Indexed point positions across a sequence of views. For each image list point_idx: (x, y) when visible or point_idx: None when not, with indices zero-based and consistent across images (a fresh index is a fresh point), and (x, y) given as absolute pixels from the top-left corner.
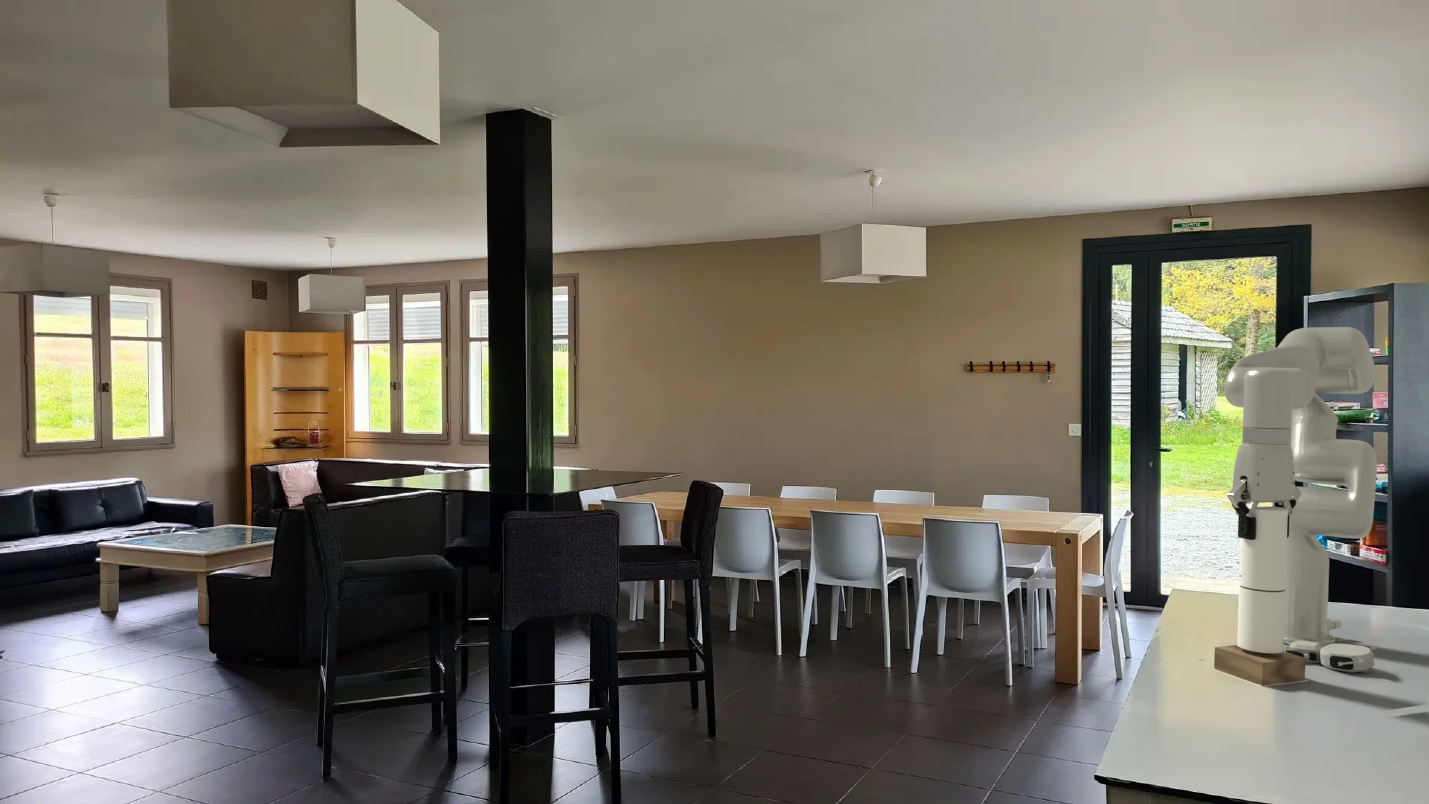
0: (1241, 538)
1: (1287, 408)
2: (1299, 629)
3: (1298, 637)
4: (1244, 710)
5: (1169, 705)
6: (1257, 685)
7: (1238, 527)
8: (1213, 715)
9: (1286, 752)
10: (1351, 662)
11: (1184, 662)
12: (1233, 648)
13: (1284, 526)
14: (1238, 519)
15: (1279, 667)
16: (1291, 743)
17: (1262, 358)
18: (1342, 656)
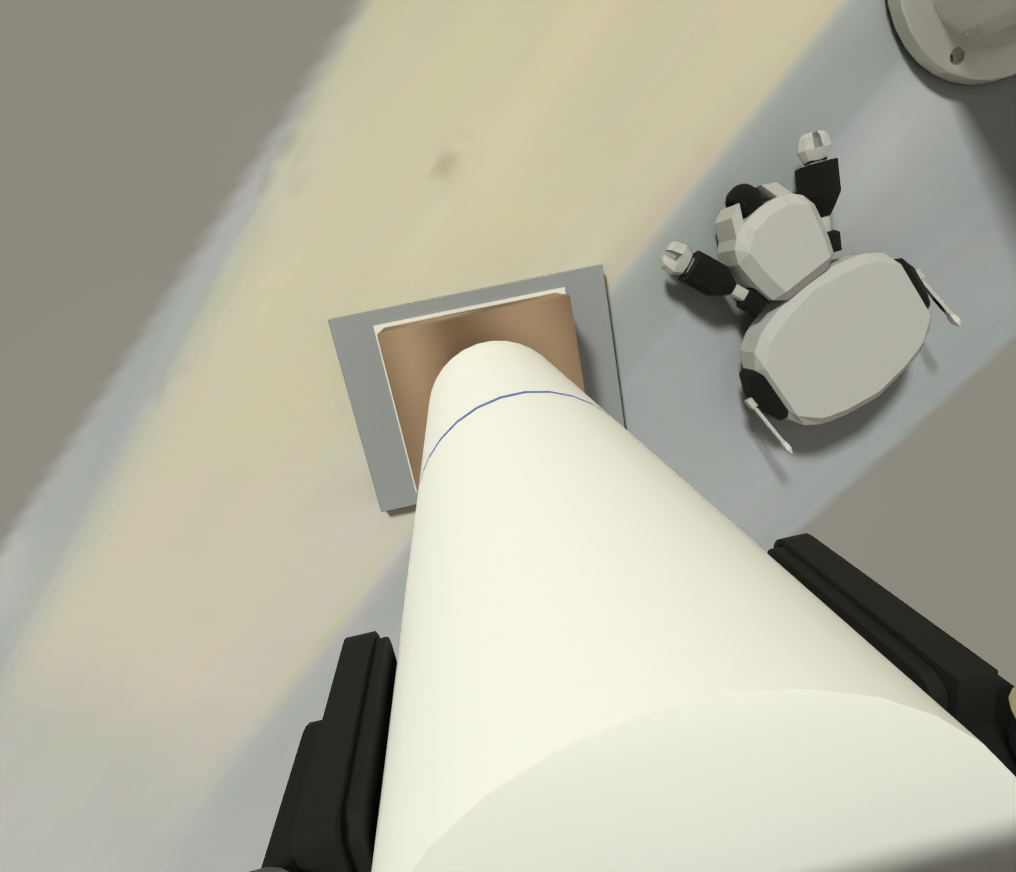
0: (410, 591)
1: None
2: (973, 5)
3: (945, 17)
4: (279, 609)
5: (92, 570)
6: (413, 484)
7: (329, 704)
8: (176, 637)
9: (215, 818)
10: (769, 427)
11: (363, 191)
12: (434, 357)
13: None
14: (305, 784)
15: None
16: (257, 780)
17: None
18: (778, 396)
